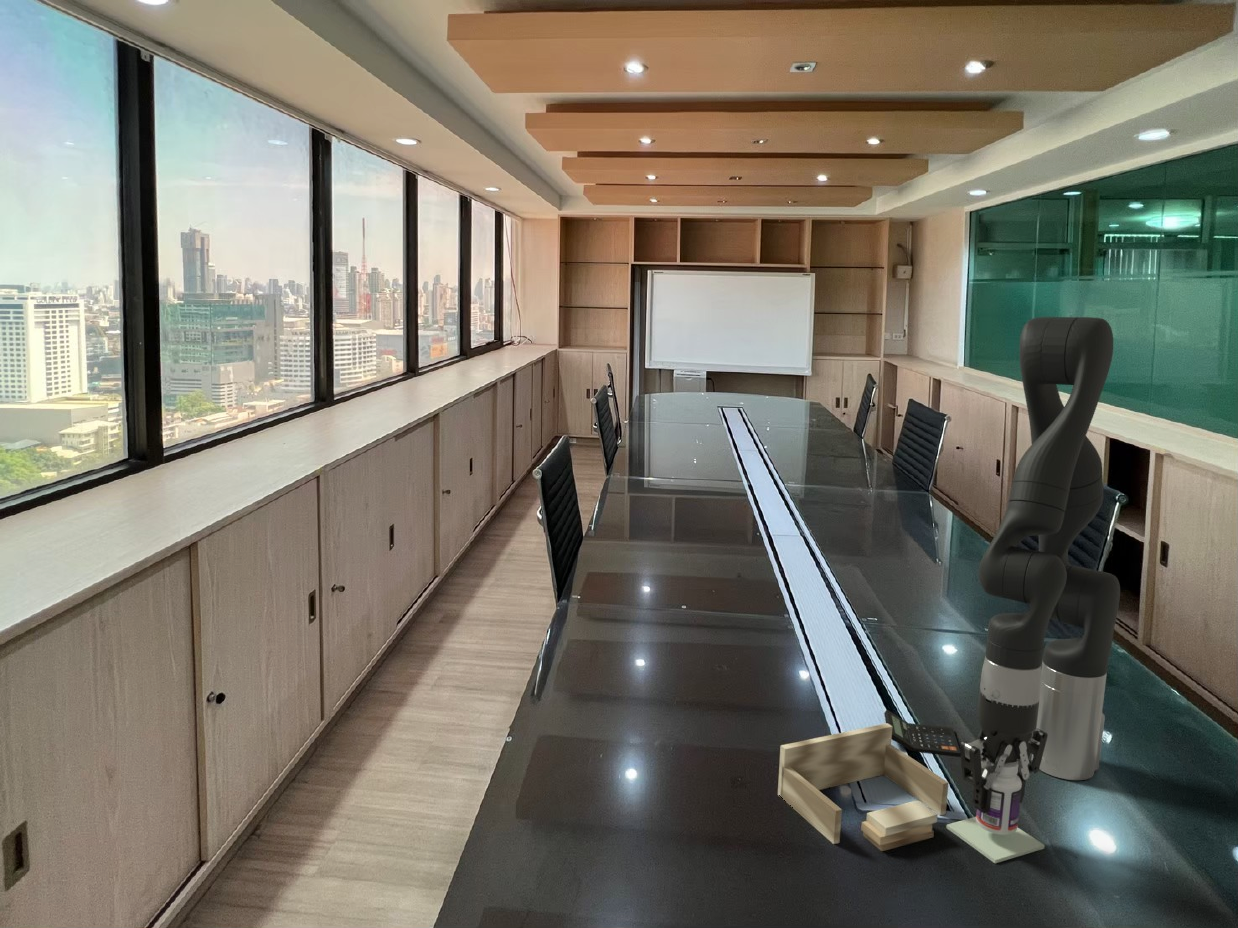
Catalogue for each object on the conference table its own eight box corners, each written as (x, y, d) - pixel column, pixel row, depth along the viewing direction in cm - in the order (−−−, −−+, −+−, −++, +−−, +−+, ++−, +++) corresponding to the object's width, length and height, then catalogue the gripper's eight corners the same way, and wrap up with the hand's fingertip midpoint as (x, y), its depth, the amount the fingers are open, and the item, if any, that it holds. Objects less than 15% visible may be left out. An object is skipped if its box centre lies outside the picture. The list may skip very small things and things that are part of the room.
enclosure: (883, 769, 147) (887, 723, 146) (945, 814, 135) (950, 763, 133) (777, 794, 139) (780, 745, 138) (833, 844, 127) (837, 790, 125)
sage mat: (993, 814, 135) (994, 811, 135) (1044, 848, 127) (1044, 845, 127) (946, 827, 131) (946, 824, 131) (995, 863, 123) (995, 860, 123)
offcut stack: (915, 823, 133) (917, 800, 132) (935, 837, 129) (937, 814, 129) (860, 837, 129) (862, 814, 128) (879, 853, 125) (881, 829, 125)
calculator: (960, 758, 152) (962, 741, 152) (887, 749, 154) (888, 733, 154) (952, 732, 161) (953, 716, 161) (883, 724, 164) (884, 709, 163)
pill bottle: (1006, 814, 132) (1013, 751, 130) (1024, 836, 126) (1031, 770, 124) (969, 814, 131) (975, 750, 130) (985, 836, 126) (991, 770, 124)
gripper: (1026, 673, 131) (1014, 782, 135) (948, 688, 126) (938, 802, 129) (1071, 694, 125) (1057, 808, 128) (991, 711, 119) (978, 830, 122)
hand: (997, 805), depth 128 cm, fingers closed on pill bottle, 5 cm apart
